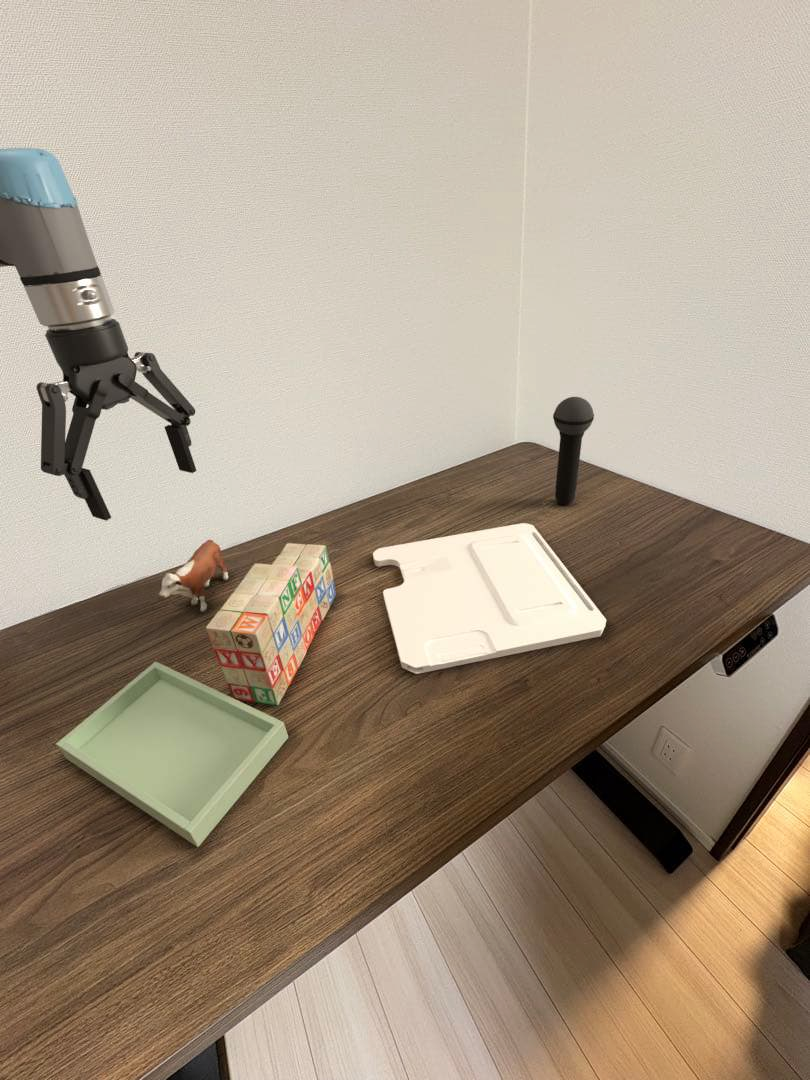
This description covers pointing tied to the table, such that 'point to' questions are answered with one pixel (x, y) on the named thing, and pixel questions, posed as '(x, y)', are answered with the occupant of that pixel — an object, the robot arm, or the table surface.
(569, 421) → the microphone
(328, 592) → the stack of blocks
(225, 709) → the tray
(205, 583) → the bull figurine
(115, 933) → the table surface
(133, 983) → the table surface
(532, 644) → the tray
